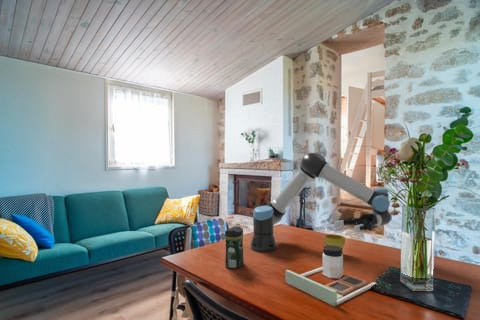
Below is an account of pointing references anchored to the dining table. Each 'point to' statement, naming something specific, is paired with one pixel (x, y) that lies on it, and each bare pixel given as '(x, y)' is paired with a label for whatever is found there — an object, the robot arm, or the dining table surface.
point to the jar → (332, 261)
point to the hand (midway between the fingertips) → (344, 226)
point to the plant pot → (335, 240)
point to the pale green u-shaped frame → (327, 286)
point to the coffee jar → (234, 247)
